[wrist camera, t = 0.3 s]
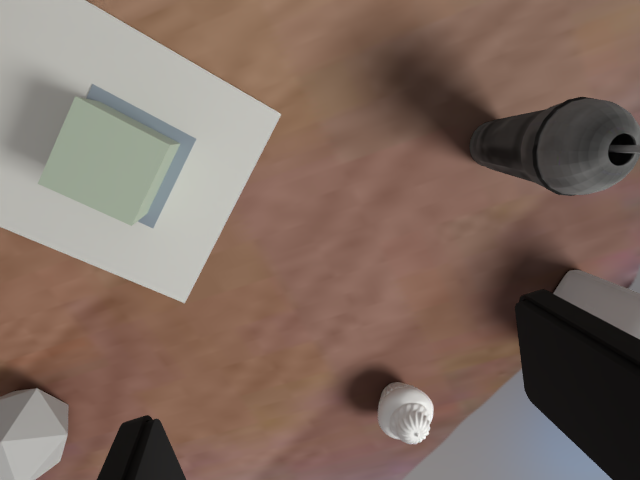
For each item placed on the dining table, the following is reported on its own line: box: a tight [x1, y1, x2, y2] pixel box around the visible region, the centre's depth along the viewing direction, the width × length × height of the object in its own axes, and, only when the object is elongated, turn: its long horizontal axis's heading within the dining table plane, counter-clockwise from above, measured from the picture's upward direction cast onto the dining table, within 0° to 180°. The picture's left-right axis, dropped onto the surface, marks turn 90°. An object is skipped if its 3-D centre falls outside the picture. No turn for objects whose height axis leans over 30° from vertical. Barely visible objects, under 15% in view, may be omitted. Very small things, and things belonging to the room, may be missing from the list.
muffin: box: [378, 382, 433, 444], centre depth 44 cm, size 6×6×7 cm
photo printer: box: [553, 270, 640, 339], centre depth 42 cm, size 10×4×12 cm, turn 154°
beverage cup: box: [470, 97, 640, 196], centre depth 32 cm, size 7×7×20 cm
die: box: [0, 388, 68, 480], centre depth 37 cm, size 8×9×10 cm
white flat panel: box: [0, 0, 281, 303], centre depth 35 cm, size 20×24×1 cm
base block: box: [38, 96, 180, 226], centre depth 33 cm, size 7×7×5 cm
